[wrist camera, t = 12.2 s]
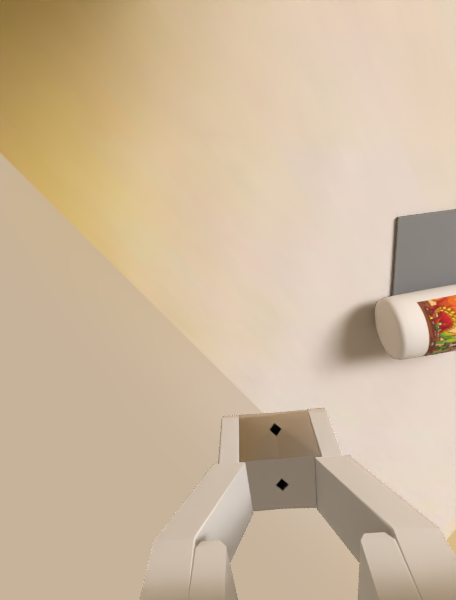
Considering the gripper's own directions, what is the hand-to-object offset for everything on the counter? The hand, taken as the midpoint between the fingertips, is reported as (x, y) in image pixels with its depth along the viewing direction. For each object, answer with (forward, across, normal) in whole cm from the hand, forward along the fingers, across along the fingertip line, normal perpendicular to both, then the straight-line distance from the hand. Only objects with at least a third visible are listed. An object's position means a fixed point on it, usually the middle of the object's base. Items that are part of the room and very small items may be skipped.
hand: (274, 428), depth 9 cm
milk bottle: (+27, -15, +13) cm, 33 cm away
